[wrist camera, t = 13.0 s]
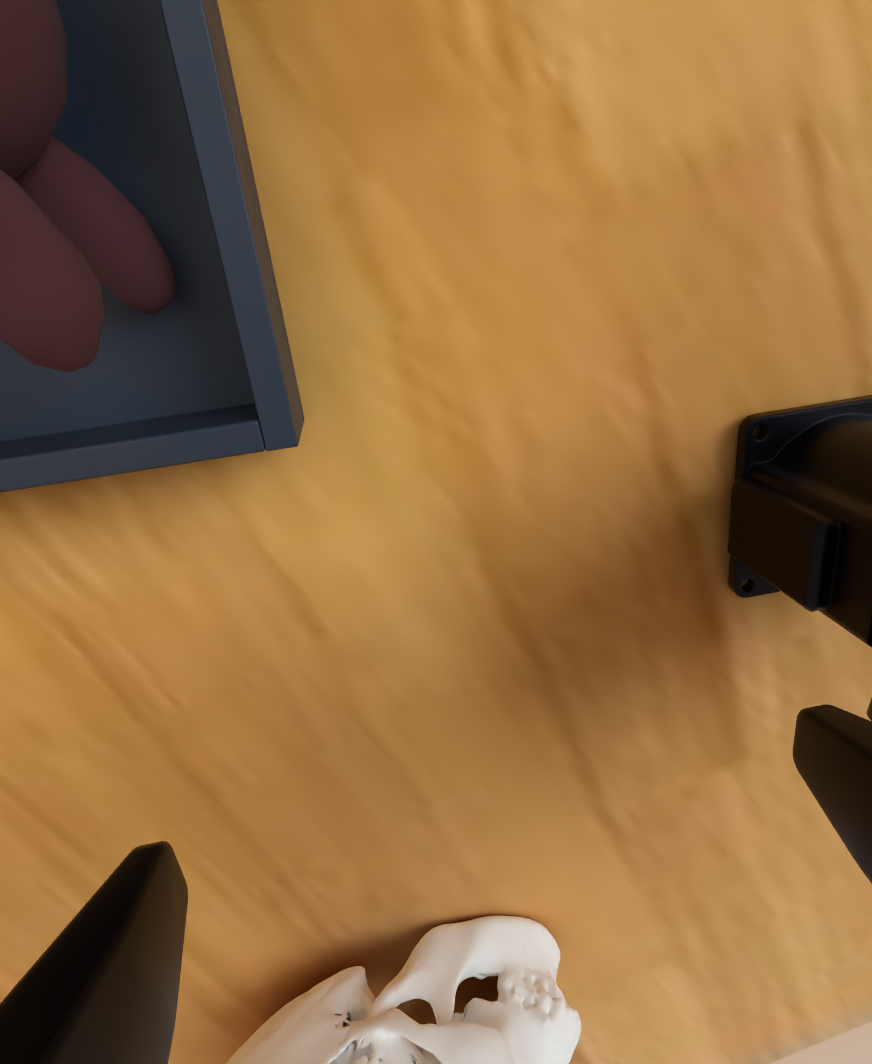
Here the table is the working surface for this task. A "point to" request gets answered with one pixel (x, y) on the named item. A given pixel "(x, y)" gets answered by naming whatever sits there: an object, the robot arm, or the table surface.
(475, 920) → the skull bowl
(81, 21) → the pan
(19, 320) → the icecream
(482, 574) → the table surface
